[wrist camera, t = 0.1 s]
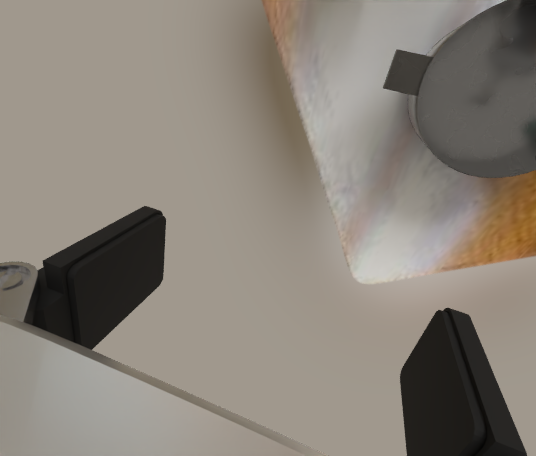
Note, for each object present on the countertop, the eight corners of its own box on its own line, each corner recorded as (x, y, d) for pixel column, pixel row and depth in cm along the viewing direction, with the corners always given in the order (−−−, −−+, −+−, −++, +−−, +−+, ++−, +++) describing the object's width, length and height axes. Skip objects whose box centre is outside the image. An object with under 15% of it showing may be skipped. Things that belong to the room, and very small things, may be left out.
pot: (411, -1, 30) (424, -30, 23) (626, 39, 27) (727, 21, 20) (365, 132, 37) (363, 146, 29) (536, 177, 33) (586, 206, 26)
